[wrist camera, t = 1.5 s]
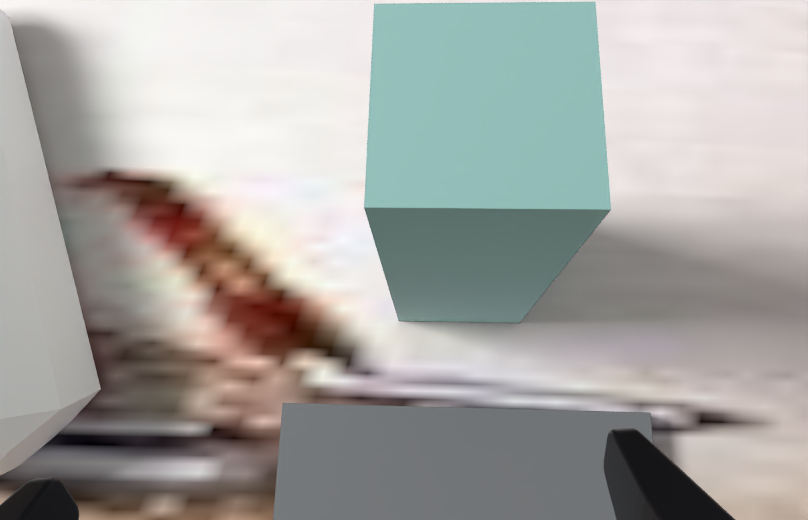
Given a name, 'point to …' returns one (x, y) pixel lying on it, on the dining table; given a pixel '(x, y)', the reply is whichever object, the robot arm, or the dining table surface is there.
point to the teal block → (483, 153)
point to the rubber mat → (444, 463)
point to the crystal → (34, 286)
